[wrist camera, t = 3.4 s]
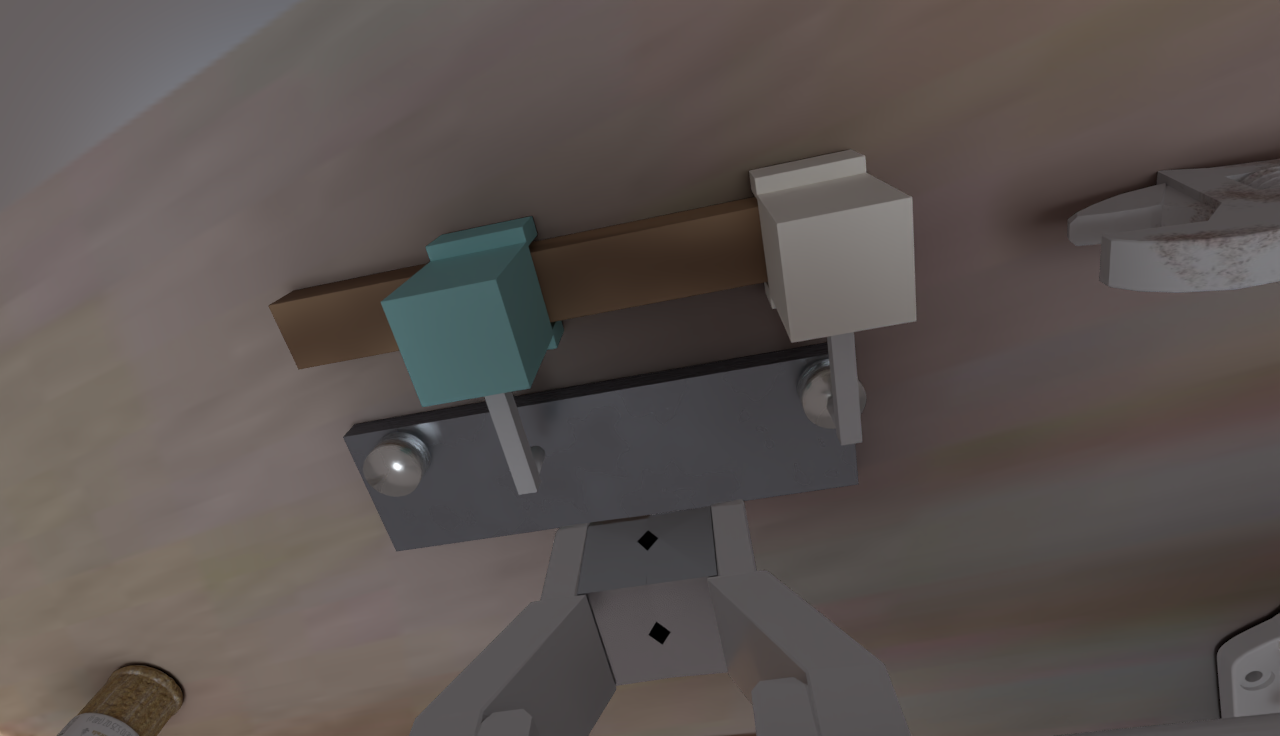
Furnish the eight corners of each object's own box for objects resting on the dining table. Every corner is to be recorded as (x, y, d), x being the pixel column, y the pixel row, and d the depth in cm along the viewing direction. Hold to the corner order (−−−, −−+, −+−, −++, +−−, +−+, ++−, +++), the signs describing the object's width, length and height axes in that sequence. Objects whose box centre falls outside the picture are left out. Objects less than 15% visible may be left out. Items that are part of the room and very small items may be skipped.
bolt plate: (858, 468, 31) (874, 502, 29) (405, 536, 34) (384, 571, 32) (847, 339, 29) (863, 364, 26) (354, 424, 32) (328, 454, 29)
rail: (832, 254, 27) (844, 267, 25) (321, 351, 30) (298, 369, 28) (826, 182, 26) (838, 190, 24) (293, 290, 29) (268, 305, 27)
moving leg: (589, 422, 31) (569, 512, 25) (509, 435, 31) (470, 527, 25) (532, 215, 27) (490, 261, 20) (441, 234, 27) (373, 284, 21)
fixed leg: (867, 376, 29) (921, 460, 23) (778, 390, 30) (808, 477, 23) (851, 149, 25) (911, 176, 19) (748, 170, 26) (774, 204, 19)
